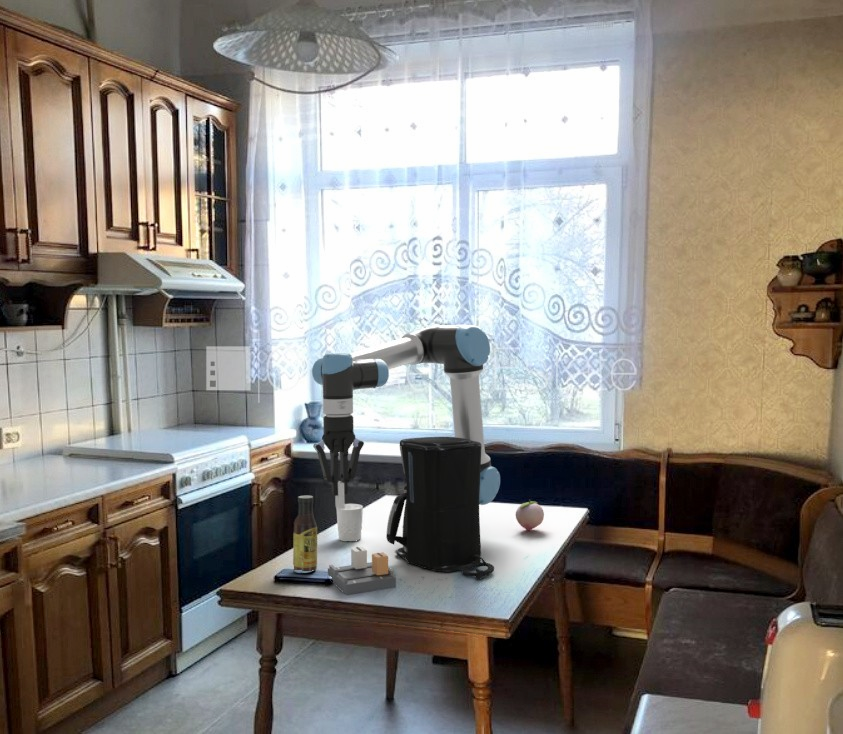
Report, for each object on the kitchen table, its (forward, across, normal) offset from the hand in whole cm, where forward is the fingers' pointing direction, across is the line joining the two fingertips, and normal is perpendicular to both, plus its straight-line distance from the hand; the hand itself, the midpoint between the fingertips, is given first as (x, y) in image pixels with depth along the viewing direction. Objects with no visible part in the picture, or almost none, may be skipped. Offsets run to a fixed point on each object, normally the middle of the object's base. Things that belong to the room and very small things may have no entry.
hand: (340, 507), depth 202 cm
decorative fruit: (+20, +69, +19) cm, 74 cm away
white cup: (+19, +15, +35) cm, 43 cm away
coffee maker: (+19, +28, +2) cm, 34 cm away
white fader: (+16, +5, 0) cm, 17 cm away
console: (+19, +4, -4) cm, 20 cm away
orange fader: (+16, +8, -7) cm, 19 cm away
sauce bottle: (+19, -6, +11) cm, 23 cm away
